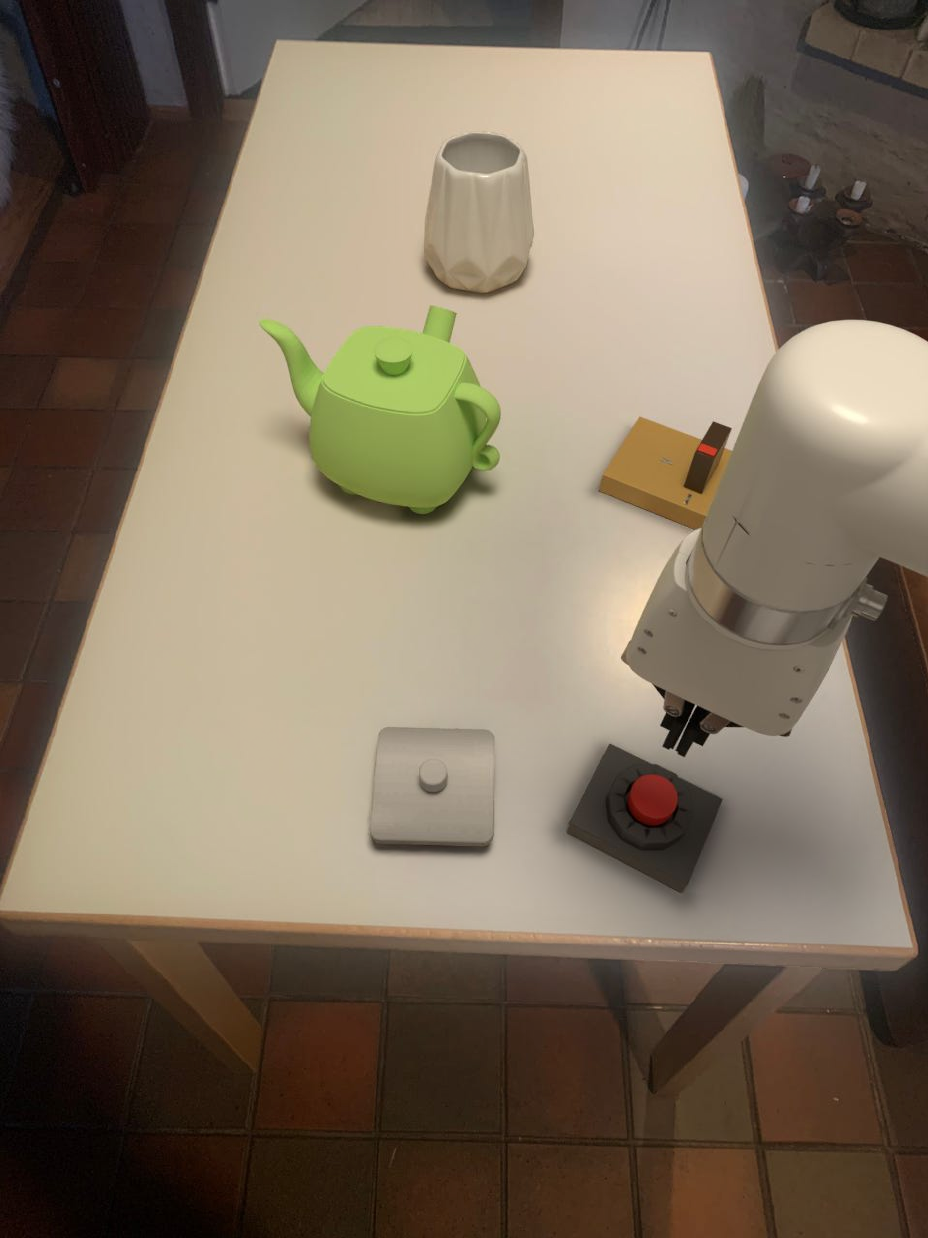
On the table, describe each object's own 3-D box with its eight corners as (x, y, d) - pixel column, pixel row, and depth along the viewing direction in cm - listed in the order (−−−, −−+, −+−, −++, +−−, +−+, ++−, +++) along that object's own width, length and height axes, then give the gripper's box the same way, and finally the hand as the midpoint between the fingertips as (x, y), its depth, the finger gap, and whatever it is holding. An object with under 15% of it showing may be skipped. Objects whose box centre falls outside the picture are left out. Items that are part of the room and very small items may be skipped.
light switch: (371, 851, 68) (365, 829, 63) (380, 740, 73) (376, 713, 69) (493, 854, 68) (495, 833, 63) (493, 742, 73) (495, 716, 69)
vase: (492, 226, 116) (497, 110, 104) (552, 279, 110) (565, 162, 97) (405, 258, 112) (398, 141, 99) (462, 315, 105) (463, 197, 93)
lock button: (680, 795, 67) (684, 787, 65) (663, 834, 65) (667, 826, 63) (637, 774, 68) (641, 766, 66) (620, 812, 66) (623, 804, 64)
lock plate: (752, 477, 91) (759, 459, 88) (720, 540, 86) (727, 523, 83) (635, 432, 94) (639, 414, 92) (599, 490, 89) (602, 473, 87)
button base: (716, 808, 70) (729, 789, 67) (681, 893, 66) (693, 878, 63) (605, 753, 73) (613, 733, 69) (566, 832, 69) (571, 814, 65)
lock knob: (701, 456, 89) (713, 419, 84) (719, 463, 88) (732, 426, 84) (683, 486, 86) (695, 449, 82) (701, 494, 86) (714, 457, 81)
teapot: (535, 410, 96) (547, 287, 83) (472, 549, 85) (475, 433, 72) (335, 359, 101) (317, 236, 87) (250, 485, 89) (215, 365, 76)
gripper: (943, 578, 41) (806, 741, 56) (655, 463, 44) (601, 645, 60) (907, 697, 37) (771, 836, 52) (597, 561, 41) (555, 728, 56)
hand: (681, 734), depth 56 cm, fingers closed
